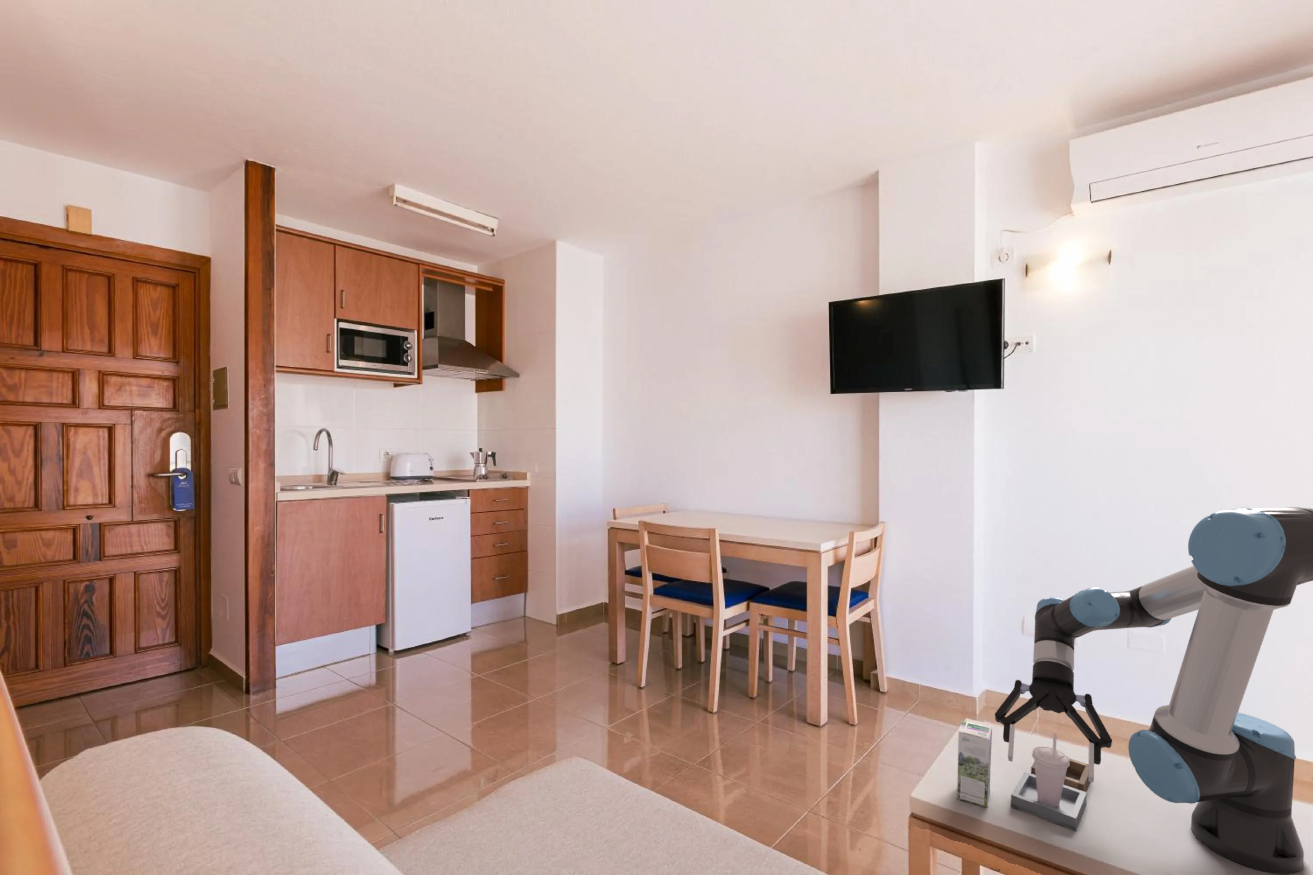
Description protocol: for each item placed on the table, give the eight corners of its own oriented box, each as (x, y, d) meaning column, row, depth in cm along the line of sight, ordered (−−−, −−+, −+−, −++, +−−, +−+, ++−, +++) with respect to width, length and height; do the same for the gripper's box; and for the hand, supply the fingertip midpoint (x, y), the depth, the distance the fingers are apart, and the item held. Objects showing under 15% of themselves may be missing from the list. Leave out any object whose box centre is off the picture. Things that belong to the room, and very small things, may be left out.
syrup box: (990, 793, 133) (992, 725, 132) (987, 809, 128) (989, 737, 127) (960, 785, 136) (961, 718, 136) (956, 799, 131) (957, 730, 131)
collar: (1091, 778, 139) (1092, 765, 138) (1083, 798, 132) (1083, 784, 131) (1041, 762, 145) (1041, 749, 145) (1030, 780, 138) (1031, 766, 138)
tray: (1086, 804, 130) (1086, 792, 130) (1075, 831, 122) (1076, 818, 121) (1024, 782, 137) (1025, 771, 137) (1010, 806, 129) (1011, 794, 129)
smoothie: (1073, 813, 126) (1076, 744, 125) (1036, 809, 127) (1040, 740, 126) (1059, 793, 132) (1062, 727, 131) (1025, 789, 133) (1028, 723, 132)
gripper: (1123, 688, 135) (1126, 795, 123) (989, 663, 148) (980, 757, 136) (1126, 672, 130) (1129, 782, 118) (987, 647, 143) (978, 743, 132)
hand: (1049, 768), depth 127 cm, fingers open, 13 cm apart
